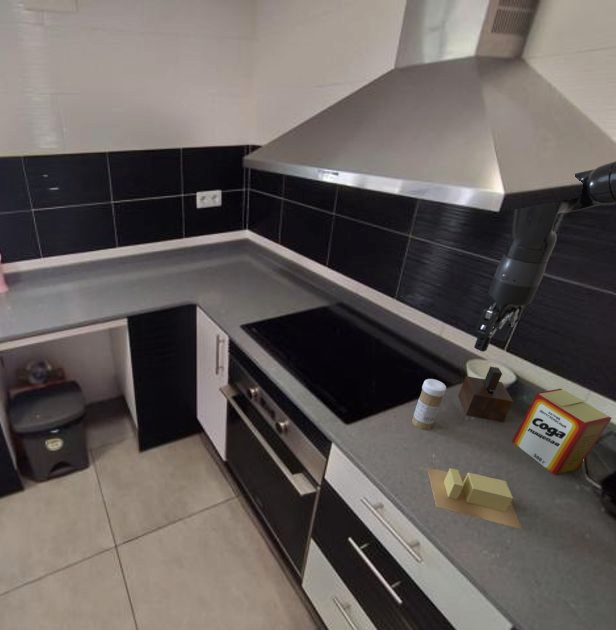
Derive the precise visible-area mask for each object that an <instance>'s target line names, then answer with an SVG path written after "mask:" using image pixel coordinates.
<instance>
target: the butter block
mask: <svg viewBox="0 0 616 630" xmlns="http://www.w3.org/2000/svg"><path fill="white" fill-rule="evenodd" d="M465 476H466V478H465V480H464V482H463V491H464V495H465V498H466V501H467V502H468V503H472V504H476V505H480V506H484V507H488V508H492V509H495V510H499V511H503V512H506V510H507V508H508V506H509V505H510V503H512V501H513V499H514V496H513V494H512V491H511V490H510V488H509V486H508V483H507V481H506V480H503V479H499V478H493V477H491V476H490V477H489V476H485V475H481V474H478V473H477V474H476V473H472V472H467V473H466V475H465Z"/></svg>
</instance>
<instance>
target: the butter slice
mask: <svg viewBox="0 0 616 630" xmlns="http://www.w3.org/2000/svg"><path fill="white" fill-rule="evenodd" d="M447 472H448V473H447V475H446V478H445V480H444V484H445V487H446V491H447V495H448V498H452V499H456V500H457V499H458V497H459V495H460V493H461V491H462V488H463V483H462V479H461V476H460V475H461V474H460V470H458V469H455V468H451V467H449V468H448V471H447Z"/></svg>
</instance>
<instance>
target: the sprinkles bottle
mask: <svg viewBox="0 0 616 630" xmlns="http://www.w3.org/2000/svg"><path fill="white" fill-rule="evenodd" d="M446 391H447V386H446V385H445V383H443V382H442V381H440V380H438V379H434V378H427V379H425V380H424V381H423V384H422V386H421V393H420V395H419V398H418V401H417V404H416V407H415V409H414V413H413V417H412V419H411V422H412V424H413V425H414V426H415V427H416V428H418V429H421V430H426V431H428V430H431V429H432V427H433V424H434V422H435V419H436V418H437V414H438V413H439V409H440V406H441V403H442V399H443V397H444V396H445V394H446Z"/></svg>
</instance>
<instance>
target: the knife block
mask: <svg viewBox="0 0 616 630" xmlns="http://www.w3.org/2000/svg"><path fill="white" fill-rule="evenodd" d="M484 380H485V378H479V377H475V376H468V375H465V377H464V379H463V382H462V385H461V387H460V389H459V391H458V395H457V398H458V399H459V402H460V404H461V407H462V409H463V411H464V414H465V416H469V417H474V418H480V419H485V420H490V421H495V422H500V423H504V421H505V419H506V417H507V415H508V413H509V411H510V409H511V407H512V405H513V403H514V400H513V399H512V397H511V395H510V394H509V392H508V390H507V389H506V387H505V384H503V381H499V382H498V384H497V387H496V389H495V390H492V393H491V394H490V393H488V392H487V390H486V388H485V385H484Z"/></svg>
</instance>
